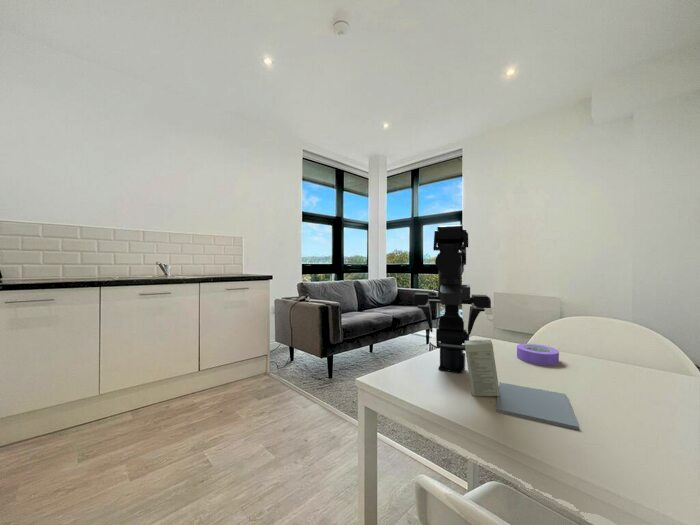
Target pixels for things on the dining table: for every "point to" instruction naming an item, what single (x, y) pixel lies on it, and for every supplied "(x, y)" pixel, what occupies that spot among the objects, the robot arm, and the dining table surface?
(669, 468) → the dining table surface
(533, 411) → the mat
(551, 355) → the masking tape
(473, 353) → the skincare box
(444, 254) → the robot arm
